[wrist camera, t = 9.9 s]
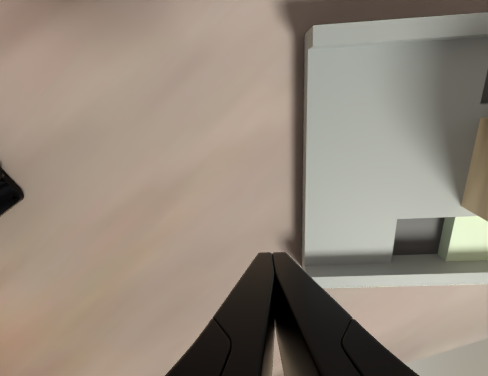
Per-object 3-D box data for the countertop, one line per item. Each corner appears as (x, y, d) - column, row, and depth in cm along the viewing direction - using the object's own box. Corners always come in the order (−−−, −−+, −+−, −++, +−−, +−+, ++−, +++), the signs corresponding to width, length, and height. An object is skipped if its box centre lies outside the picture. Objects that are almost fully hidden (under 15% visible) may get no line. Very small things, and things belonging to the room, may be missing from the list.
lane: (301, 267, 23) (307, 288, 20) (304, 34, 17) (313, 25, 15) (531, 260, 22) (567, 282, 19) (616, 11, 16) (682, -3, 14)
